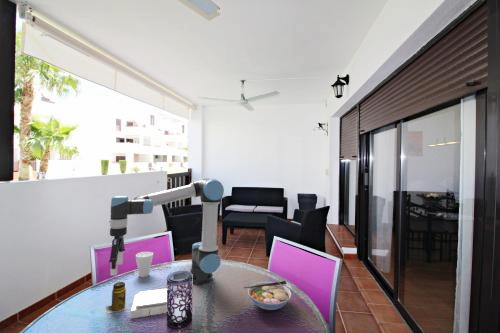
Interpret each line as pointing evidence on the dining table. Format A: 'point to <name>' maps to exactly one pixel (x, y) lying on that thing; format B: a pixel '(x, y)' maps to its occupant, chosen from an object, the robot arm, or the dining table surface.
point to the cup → (144, 263)
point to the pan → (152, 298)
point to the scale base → (146, 309)
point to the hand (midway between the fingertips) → (116, 269)
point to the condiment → (117, 298)
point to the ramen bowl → (269, 294)
